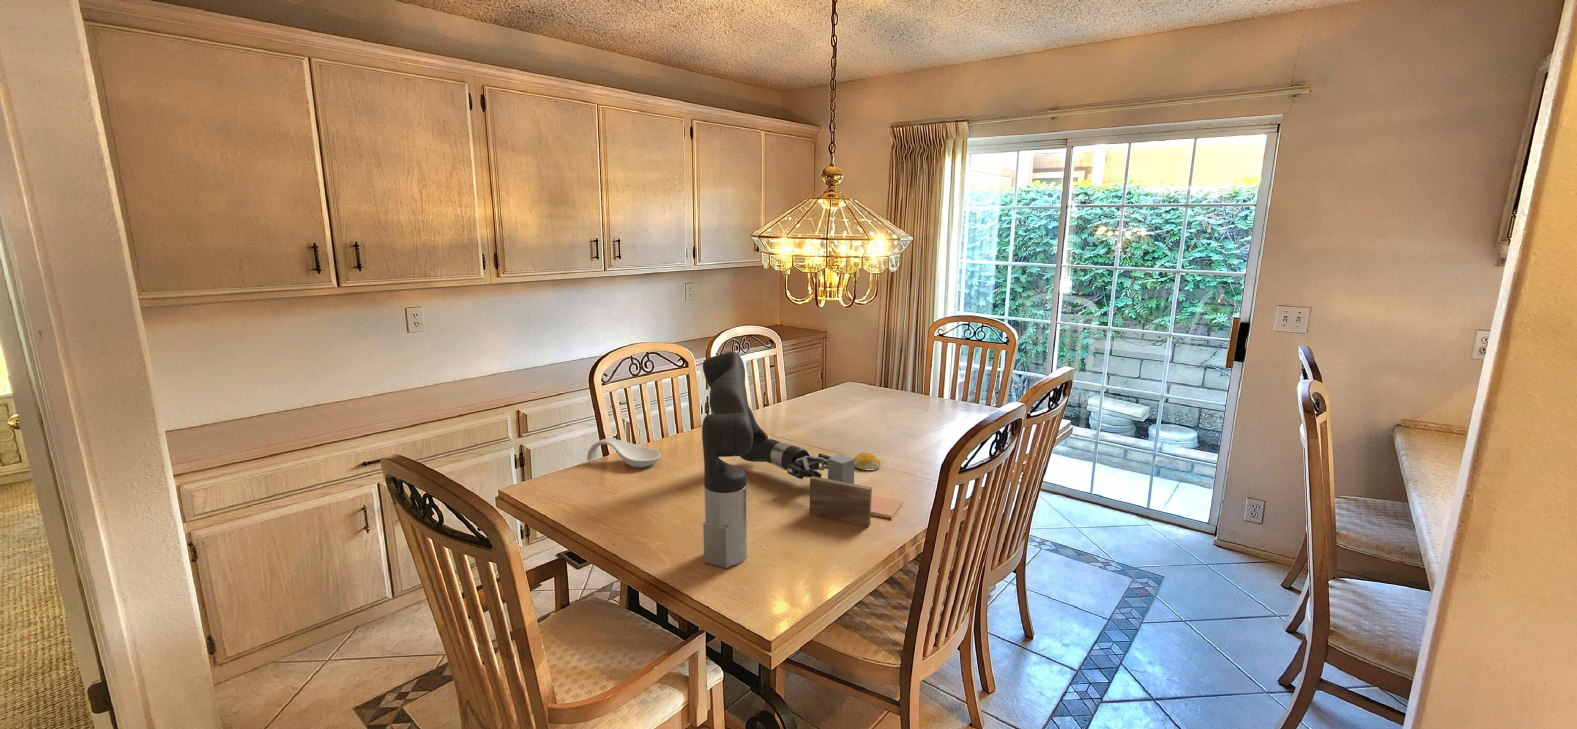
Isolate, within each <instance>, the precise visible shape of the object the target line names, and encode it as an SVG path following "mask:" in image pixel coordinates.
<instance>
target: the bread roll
mask: <svg viewBox="0 0 1577 729" xmlns="http://www.w3.org/2000/svg"><path fill="white" fill-rule="evenodd" d="M854 456H855V457H854V458H853V459H855V466H854V468H856V467H857V468H860V469H876V468H878V469H879V468H880V467H881V465H882V464H881V463H882V462H881V460H880V459H879V458H878V457H876V455H874V454H873V453H870V452H860V453H858V454H857V455H854ZM857 468H856V469H857Z"/></svg>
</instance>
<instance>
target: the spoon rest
mask: <svg viewBox="0 0 1577 729" xmlns="http://www.w3.org/2000/svg"><path fill="white" fill-rule="evenodd" d="M601 445H602V446H603V445H608V446H610V447H611V448H613V449H614V450H615V452H616V453H617V455H619V457H620V458H621V460H622V461H623V462H624V463H625V464H627V465H628V466H630V467H631V468H634V467H635V468H634V469H643V467H644V468H647V467H651V466H652V465H654V464H655V463H657V461H659V460H660V458H661V456H662V454H661V452H660V451H659V450H657V449H656V448H652V447H649V446H644V445H639V444H636V443H631V442H628V441H624V440H620V439H616V438H603V439H600V440H599V441H597V442H595V443H594V444H592V445H591V446H590V448H589V449H588V452H587V456H586V461H588V462H589V461H592V460H594V459H596V458H597V456H598V448H599V447H600V446H601Z"/></svg>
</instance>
